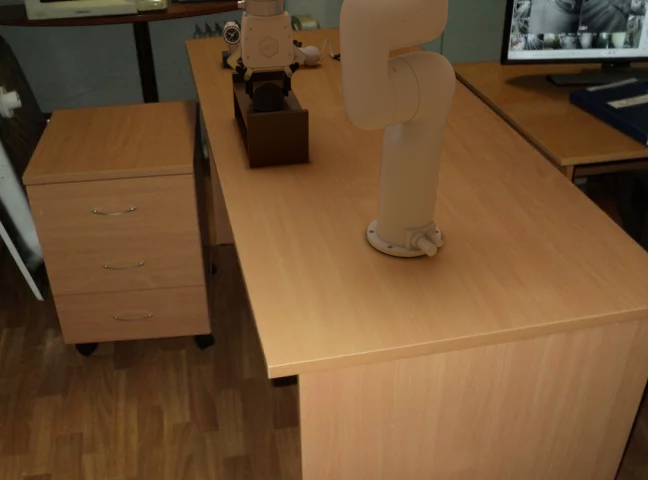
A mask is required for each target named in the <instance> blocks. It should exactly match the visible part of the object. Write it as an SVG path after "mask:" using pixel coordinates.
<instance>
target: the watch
mask: <svg viewBox="0 0 648 480" xmlns="http://www.w3.org/2000/svg"><path fill="white" fill-rule="evenodd" d="M222 39H223V41H224V44H225V46H226V48H227V50H222V51H221V58H222V59H221V60H222V66H223V69H233V68H232V67H231V66H230V65H229V64H228V62H227V59H228V58H229V57H230V56H231V55H232V54H233V53H234V52H235V51H236V50H237V49H238V48H239V46H240V45H241V28H239V25H238V24H236V21H226V22H225V25H224V29H223V31H222ZM237 63H238V64H239V65H240V66H242V67H243V68H244V67H245V66H244V64H243V61H242V58H241V57H240V58H239V59H238V60H237Z"/></svg>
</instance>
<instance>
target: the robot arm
mask: <svg viewBox="0 0 648 480" xmlns="http://www.w3.org/2000/svg"><path fill="white" fill-rule="evenodd" d="M285 3H286V2H285V0H237V9H242V10H244V11H243V12H242V15H241V21H240V22H241V23H240V30H241V42H240V46H239V47H238V49H237V50H236V51H235V52H234V53H233V54H232V55H231V56H230V57H229V58H228V59H227V62H228V64H229V65H230V66H231V67H232V68H231V69H233V70H235V72H237V73H238V74H240V75H241V76H242V77H243V78H244V80H245V93H246V94H248V95H249V98H250V99H252V98H253V80H252V78H251V75H252V72H253V71H255V70H259V69H273V68H274V69H275V68H282V69H284V73H283V74H282V87H283V91H284V95H285V96H286V97H288V96H289V92H288V91H291V88H292V78H293V76H294V74H295V72H296V71H297V70H299V68H300V66H301V65H302V64H304V60H305V59H306V55H305V54H304V53H303V52H302V51H301V50H300V49H298V48H297V47H296V46H295V45H294V44H293V40H294V39H293V30H292V29H293V28H292V22H291V17H290V13H289V12H288V11H287V10H285V8H286V7H285ZM448 13H449V0H343V1H342V4H341V8H340V12H339V21H338V22H339V23H338V24H339V48H340V49H339V53H340V57H339V58H340V80H341V81H340V83H341V96H342V102H343V107H344V111H345V114H346V116H347V118H348V120H349V121H350V123H351V124H352V125H353V126H354V127H355V128H357V129H359V130H362V131H366V132H367V131H377V130H381V129H382V130H383V129H384V131H383V134H382V138H381V145H380V160H379V173H378V175H379V176H378V191H377V209H376V210H377V211H376V218H374V219H373V220H372V221H371V222H370V223H369V224H368V225H367V228H366V238H367V241H368V243H369V244H370V245H371V246H372V247H374V248H375V249H376V250H378V251H380V252H382V253H384V254H387V255H391V256H395V257H402V258H405V257H407V258H408V257H409V258H413V257H414V258H415V257H419V256H424V255H426V256H428V257H433V256H435V255H436V254H437V252H438V248H441V247H442V246H443V245H444V240H443V239H442V232H441V230H440V229H441V228H439V226H438V225H437V224H438V223H436V222H435V212H436V211H435V210H436V202H437V195H438V185H439V175H440V166H441V158H442V152H443V143H444V136H445V132H446V131H445V130H446V125H447V120H448V119H449V118H448V117H449V115H450V112H451V109H452V106H453V102H454V99H455V95H456V89H457V79H456V73H455V70H454V67H453V66H452V64H451V62H450V61H449V60H448V59H447V58H446V56H444V55H442V54H440V53H439V52H435V51H431V50H430V51H429V50H419V51H413V52H409V53H405V54H401V55H400V54H399V55H395V56H391V57H390V52H391V51H396V50H401V49H405V48H410V47H414V46H418V45H419V46H420V45H422V44H426V43H430V42H432V41H434V40H436V39H437V38H440V36H441V35H442V34H443V33H444V31H445V29H446V26H447V21H448ZM290 53H291V54H290ZM294 54H295V55H296V56H297V58H296V59H295V60H294ZM240 57H241V58H242V61H243V64H244V66H245V67H242V66H240V65H239V64H238V63H237V60H238V59H239V58H240Z"/></svg>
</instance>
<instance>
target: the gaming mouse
mask: <svg viewBox="0 0 648 480" xmlns="http://www.w3.org/2000/svg"><path fill="white" fill-rule="evenodd" d="M253 94H254V95H253V98H252V106H253V108H255V109H258V110H261V111H274V110H279V109H281V108H282V107H283V105H284V91H283V88H282V87H280V86H278V85H276V84H274V83H273V82H272V81H269V82H267V83H265V84H263V85H261V86H259V87H257V88H256V89H255V91H254V93H253Z"/></svg>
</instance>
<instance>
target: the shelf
mask: <svg viewBox="0 0 648 480" xmlns="http://www.w3.org/2000/svg"><path fill="white" fill-rule="evenodd" d="M283 73H284V69H283V68H274V69H273V68H270V69H255V70H253V72H252V75H251V78H252V80H253V93H254V91H255V89H256V88H257V87H259V86H261V85H263V84H265V83H267V82H269V81H272V82H273V83H274V84H276V85H278V86H280V87H282V74H283ZM231 82H232V83H231V85H232V97H233V98H232V99H233V114H234V121H235V125H236V128H237V130H238V135H239V138H240V141H241V145H242V147H243V151H244V154H245V157H246V161H247V164H248V167H249V169H257V168H267V167H278V166H289V165H300V164H301V165H302V164H309V163H310V141H309V140H310V121H309V120H310V118H309V117H310V113H309V112H310V111H309V109H307V108H302V105H301V103H300V101H299V99H298V97H297V96H296V93H295V92H294V89H293V88H292V87H291V91H288V92H289V96H288V97H286V96H285V95H284V105H283V107H282V108H281V109H279V110H274V111H261V110H258V109H255V108H253V106H252V99H250V98H249V95H248V94H246V93H245V80H244V78H243V77H242V76H241V75H240V74H238V73H237V72H236V71H231ZM282 88H283V87H282ZM253 95H254V94H253Z"/></svg>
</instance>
